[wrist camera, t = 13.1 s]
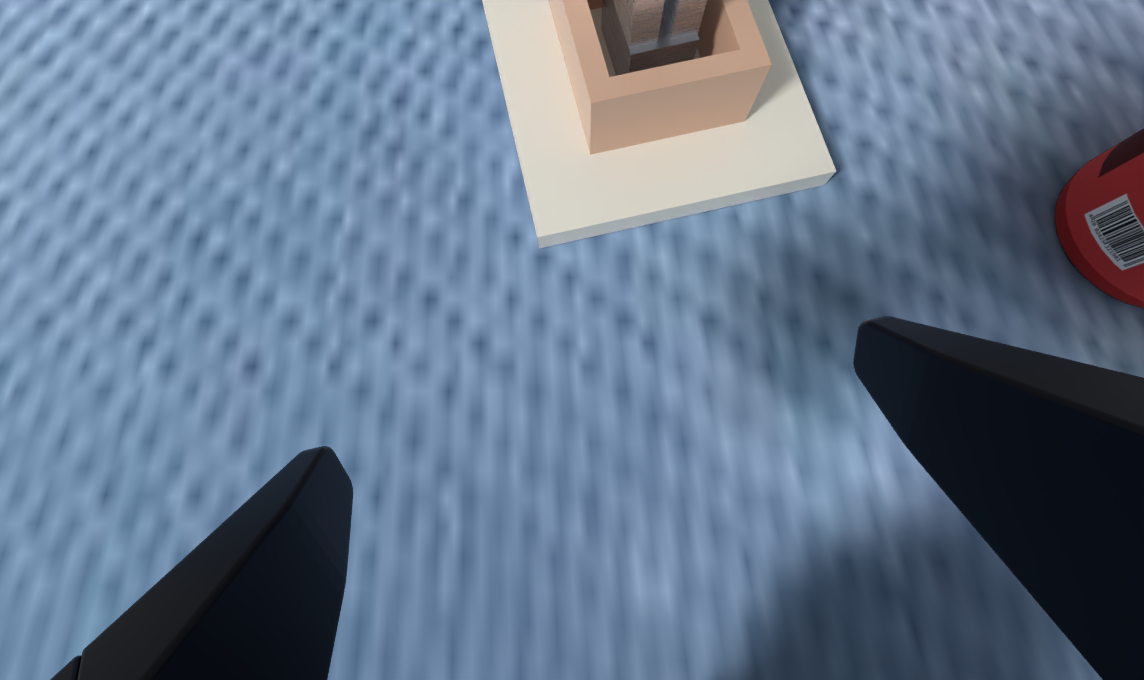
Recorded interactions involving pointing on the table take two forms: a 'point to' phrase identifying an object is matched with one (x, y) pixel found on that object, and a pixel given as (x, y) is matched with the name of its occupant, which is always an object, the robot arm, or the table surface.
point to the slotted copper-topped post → (650, 32)
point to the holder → (650, 118)
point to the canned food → (1107, 220)
